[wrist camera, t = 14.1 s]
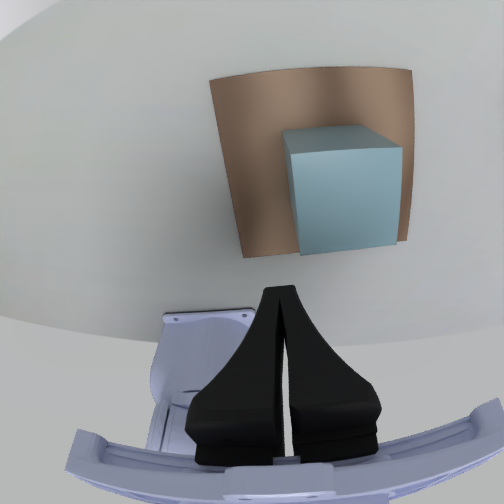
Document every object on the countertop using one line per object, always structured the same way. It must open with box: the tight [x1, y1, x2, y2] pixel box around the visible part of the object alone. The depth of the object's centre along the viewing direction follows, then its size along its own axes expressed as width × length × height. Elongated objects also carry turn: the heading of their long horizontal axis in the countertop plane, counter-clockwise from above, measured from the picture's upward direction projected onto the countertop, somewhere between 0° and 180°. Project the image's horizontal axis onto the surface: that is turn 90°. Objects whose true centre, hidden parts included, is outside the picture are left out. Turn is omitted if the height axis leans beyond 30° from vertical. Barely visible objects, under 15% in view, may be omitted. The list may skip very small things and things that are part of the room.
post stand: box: [209, 67, 414, 258], centre depth 17 cm, size 14×14×6 cm
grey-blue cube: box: [282, 125, 402, 256], centre depth 17 cm, size 6×6×7 cm
